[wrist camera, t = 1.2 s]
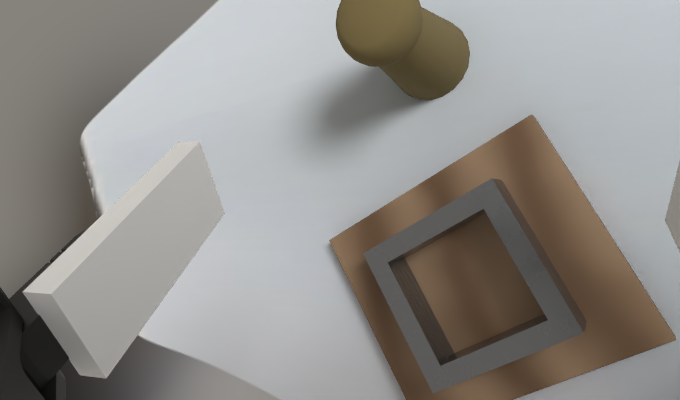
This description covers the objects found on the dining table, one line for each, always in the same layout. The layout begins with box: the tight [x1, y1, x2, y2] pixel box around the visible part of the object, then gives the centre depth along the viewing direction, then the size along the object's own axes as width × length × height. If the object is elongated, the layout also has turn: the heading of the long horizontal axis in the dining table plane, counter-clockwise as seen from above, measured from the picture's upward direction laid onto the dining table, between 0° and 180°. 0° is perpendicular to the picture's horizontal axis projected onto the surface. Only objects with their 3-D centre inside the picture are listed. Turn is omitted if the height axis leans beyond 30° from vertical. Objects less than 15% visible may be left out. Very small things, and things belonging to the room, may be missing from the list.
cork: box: [336, 0, 470, 100], centre depth 33 cm, size 6×6×11 cm
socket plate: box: [329, 115, 676, 400], centre depth 34 cm, size 18×16×4 cm
